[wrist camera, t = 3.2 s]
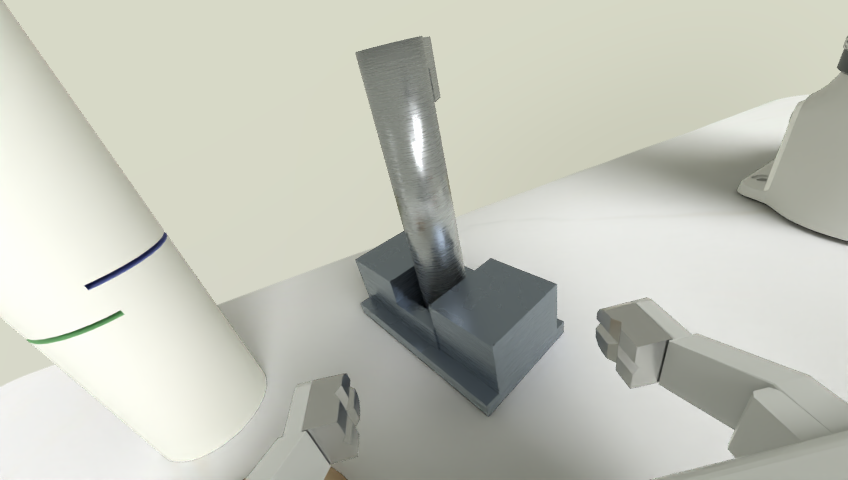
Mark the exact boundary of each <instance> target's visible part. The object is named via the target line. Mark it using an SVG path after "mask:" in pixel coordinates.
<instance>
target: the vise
mask: <svg viewBox="0 0 848 480" xmlns="http://www.w3.org/2000/svg"><path fill="white" fill-rule="evenodd" d="M356 263H357V265H358V268H359V271H360V273H361V276H362V278H363V281H364V284H365V286H366V289H367V291H368V294H369V298H368V299H366V300H365V301H363V302H362V303H361V306H362V308H363V311H364V312H365V313H366V314H367V315H368V316H369V317H371V318H372V319H373V320H374V321H375V322H377V323H378V324H379V325H380V326H381V327H383V328H384V329H385V330H386V331H387V332H389V333H390V334H391V335H392V336H393V337H394V338H396V339H397V340H398V341H399V342H400V343H402V344H403V345H404V346H405V347H406V348H408V349H409V350H410V351H411V352H412V353H414V354H415V355H416V356H417V357H418V358H419V359H421V360H422V361H423V362H424V363H425V364H427V365H428V366H429V367H430V368H431V369H433V370H434V371H435V372H436V373H437V374H439V375H440V376H441V377H442V378H443V379H444V380H446V381H447V382H448V383H449V384H450V385H452V386H453V387H454V388H455V389H456V390H458V391H459V392H460V393H461V394H462V395H464V396H465V397H466V398H467V399H468V400H469V401H471V402H472V403H473V404H474V405H475V406H477V407H478V408H479V409H480V410H481V411H483V412H484V413H485V414H486V415H487V416H490V415H491V414H492V412H493V411H494V410H495V409H496V408H497V407H498V406H499V405H500V403H501V402H502V401H503V400H504V399H505V398H506V397H507V396H508V394H509V393H510V392H511V391H512V390H513V389H514V388H515V386H516V385H517V384H518V383H519V382H520V381H521V380H522V379H523V377H524V376H525V375H526V374H527V373H528V372H529V371H530V370H531V368H532V367H533V366H534V365H535V364H536V363H537V362H538V360H539V359H540V358H541V357H542V356H543V355H544V354H545V353H546V351H547V350H548V349H549V348H550V347H551V346H552V345H553V344H554V342H555V341H556V340H557V339H558V338H559V337H560V336H561V335H562V333H563V332H564V322H563V321H561V320H559V319H557V284H555V283H552V282H550V281H547V280H545V279H542V278H540V277H537V276H535V275H532V274H530V273H527V272H525V271H522V270H519V269H517V268H514V267H512V266H509V265H507V264H504V263H502V262H499V261H497V260H494V259H492V258H490V259H489V260H488V261H486V262H485V263H484V264H483V265H481V266H480V267H479V268H477V269H476V270H475V271H474V270H472V269H470V268H467V267H465V266H464V269H465V274H466V278H464V279H463V280H462V281H461V282H459V283H458V284H457V285H455V286H454V287H453V288H451V289H450V290H449V291H448V292H446V293H445V294H444V295H442V296H441V297H440V298H438V299H437V300H436V301H435V302H433V303H432V304H431V305H429V306H428V307H429V311H428V310H427V309H426V307H425V304H424V300H423V296H422V293H421V289H420V286H419V282H418V278H417V275H416V271H415V267H414V264H413V260H412V256H411V253H410V249H409V246H408V242H407V238H406V235H405V231H403V232H401V233H400V234H398V235H396V236H395V237H393V238H391V239H389V240H388V241H386V242H384V243H383V244H381V245H379V246H378V247H376V248H374V249H373V250H371V251H369V252H367V253H366V254H364V255H362V256H361V257H359V258H357V259H356Z"/></svg>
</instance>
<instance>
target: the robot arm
mask: <svg viewBox="0 0 848 480" xmlns="http://www.w3.org/2000/svg"><path fill="white" fill-rule="evenodd" d="M843 48H844V51H843V53H842V56H841V59H840V61H839V64H838V66H837V68H838V69H839V70H840V71H841V73H840V74H839V75H838V76H837V77H836V78H835V79H834V80H833V81H832V82H830V83H829V84H828V85H827V86H825V87H824V88H822V89H821V90H819V91H817V92H815V93H813V94H811V95H810V96H809V97H808V98H807V99H806V100H804V101H801V102H799V103H798V104H797V106H796V107H795V109H794V111H793V113H792V115H791V117H790V120H789V125H788V127H787V130H786V132H785V135H784V138H783V140H782V143H781V145H780V148H779V150H778V153H777V156H776V158H775V159H774V160H773V161H771V162H769V163H768V164H766V165H765V166H763V167H762V168H760V169H759V170H757V171H756V172H754V173H753V174H751V175H749V176H748V177H746V178H745V179H743V180H742V181H741V183H740V185H739V187H738V189H737V191H738V192H739V193H740V194H742V195H744V196H747V197H749V198H752V199H754V200H757V201H760V202H763V203H765V204H767V205H768V206H770V207H771V208H773V209H774V210H775V211H777V212H778V213H779V214H781V215H782V216H784V217H785V218H787V219H789V220H791V221H793V222H795V223H797V224H799V225H801V226H803V227H806V228H808V229H811V230H814V231H816V232H819V233H822V234H825V235H828V236H831V237H835V238H838V239H842V240H845V241H848V36H847V38H846V41H845V43H844V46H843ZM597 320H598V321H599V322H600V324H599V326H598V327H597V328H596V339H597V342H598V345H599V347H600V349H601V351H602V352H603V354H604V355H605V357H606V358H607V359H609V360H611V361H613V362H615V363H616V371H617V372H618V374H619V375H620V376H621V378H622V379H623V380H624V381H625V383H626V384H627V385H628V387H629V388H630V389H632V388H636V387H641V386H645V385H650V384H654V383H659V385H661V386H663V387H664V388H666V389H667V390H669V391H671V392H672V393H674V394H676V395H677V396H679V397H681V398H682V399H684V400H686V401H687V402H689V403H691V404H692V405H694V406H696V407H697V408H699V409H701V410H702V411H704V412H706V413H707V414H709V415H711V416H712V417H714V418H716V419H717V420H719V421H721V422H722V423H724V424H726V425H727V426H729V427H731V428H732V429H734V430H735V431H734V433H733V435H732V437H731V439H730V441H729V443H728V450H729V451H730V452H731V453H732V454H733V456H734V457H735V459H731V460H727V461H723V462H719V463H715V464H711V465H707V466H703V467H699V468H695V469H691V470H687V471H683V472H679V473H675V474H671V475H667V476H663V477H659V478H655V479H651V480H848V403H846V402H845V401H844V400H842V399H841V398H840V397H838V396H837V395H835V394H834V393H833V392H831V391H830V390H829V389H827V388H826V387H825V386H823V385H822V384H821V383H819V382H818V381H817V380H815V379H814V378H812V377H811V376H809V375H807V374H804V373H801V372H799V371H796V370H793V369H791V368H788V367H785V366H783V365H780V364H777V363H775V362H772V361H769V360H767V359H764V358H761V357H759V356H756V355H753V354H751V353H748V352H745V351H743V350H740V349H737V348H735V347H732V346H729V345H727V344H724V343H721V342H718V341H716V340H713V339H710V338H708V337H705V336H702V335H700V334H691V333H690V332H689V331H687V330H686V329H685V328H684V327H683V326H682V325H680V324H679V323H678V322H677V321H676V320H675V319H674V318H672V317H671V316H670V315H669V314H668V313H667V312H666V311H664V310H663V309H662V308H661V307H660V306H659V305H658V304H656V303H655V302H654V301H653V300H652V299H650V298H643V299H639V300H635V301H631V302H626V303H622V304H618V305H615V306H611V307H607V308H603V309H599V311H598V312H597ZM359 420H360V404H359V398H358V395H357V392H356V390H355V389H354V388H352V387H350V379H349V377H348V375H347V373H346V374H340V375H335V376H331V377H326V378H322V379H317V380H313V381H309V382H305V383H301V384H298V385H297V387H296V388H295V390H294V394H293V398H292V402H291V406H290V410H289V414H288V418H287V422H286V426H285V430H284V434H283V437H280V438H277V440H276V441H275V442H274V444H273V445H272V446H271V447H270V449H269V450H268V451H267V452H266V454H265V455H264V456H263V458H262V459H261V460H260V461H259V463H258V464H257V465H256V466H255V468H254V469H253V470H252V472H251V473H250V474H249V475H248V477H247V478H246V479H245V480H324V478H325V476H326V475H327V473H328V471H329V469H330V467H331V466H330V464H334V463H338V462H341V461H345V460H348V459H352V458H355V457H358V448H359V433H358V431H357V429H356V425H357V424H358V422H359Z"/></svg>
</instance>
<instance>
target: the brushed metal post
mask: <svg viewBox="0 0 848 480" xmlns="http://www.w3.org/2000/svg"><path fill="white" fill-rule="evenodd" d="M356 57H357V60H358V64H359V68H360V71H361V75H362V79H363V82H364V86H365V90H366V93H367V97H368V100H369V104H370V108H371V111H372V115H373V119H374V122H375V126H376V130H377V133H378V137H379V140H380V144H381V148H382V151H383V155H384V159H385V162H386V166H387V169H388V173H389V177H390V180H391V184H392V188H393V191H394V195H395V198H396V202H397V206H398V209H399V213H400V216H401V220H402V224H403V227H404V231H405V235H406V238H407V242H408V246H409V249H410V253H411V256H412V260H413V264H414V267H415V271H416V275H417V278H418V282H419V286H420V289H421V293H422V296H423V300H424V304H425V307H426V309H427V310H428V311H429V307H428V306H429V305H431V304H432V303H433V302H435V301H436V300H437V299H438V298H440V297H441V296H442V295H444V294H445V293H446V292H448V291H449V290H450V289H451V288H453V287H454V286H455V285H457V284H458V283H459V282H461V281H462V280H463V279H464V278H466V274H465V269H464V263H463V258H462V252H461V247H460V241H459V236H458V230H457V225H456V219H455V213H454V209H453V202H452V198H451V192H450V186H449V180H448V175H447V169H446V164H445V158H444V153H443V147H442V142H441V136H440V131H439V125H438V120H437V114H436V109H435V103H434V102H436V101H437V100H438V99H439V98H440V92H439V86H438V80H437V74H436V68H435V62H434V57H433V51H432V45H431V39H430V37H424V38H423V37H422V36H420V37H415V38H410V39H406V40H402V41H398V42H393V43H389V44H385V45H381V46H377V47H373V48H369V49H366V50H362V51H359V52H356Z"/></svg>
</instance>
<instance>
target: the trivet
mask: <svg viewBox="0 0 848 480" xmlns="http://www.w3.org/2000/svg"><path fill="white" fill-rule="evenodd" d="M246 478H247V477H246ZM246 478H245V479H246ZM245 479H243V480H245ZM324 480H347V479H346V478H345V477H344V476H343V475H342V474H341V473H339V472H338V471H336V470H335V469H333V468H332V467H330V469H329V471H328V473H327V475H326V476H325V478H324Z"/></svg>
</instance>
